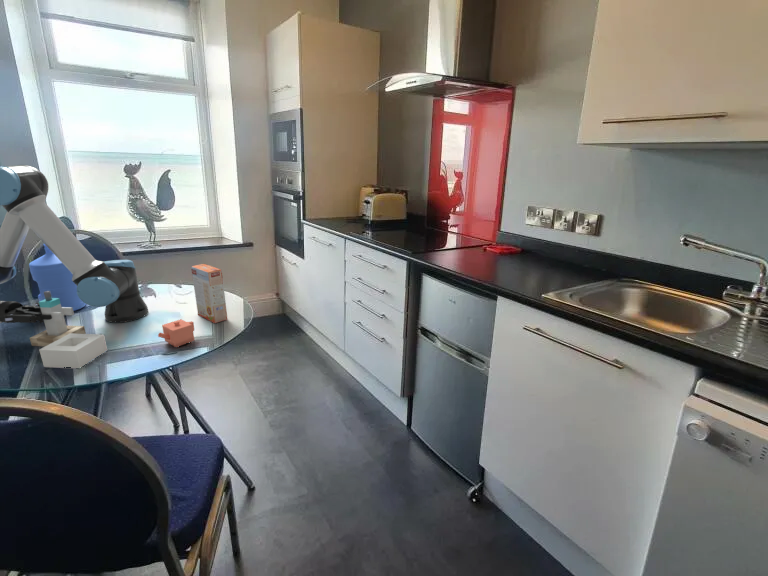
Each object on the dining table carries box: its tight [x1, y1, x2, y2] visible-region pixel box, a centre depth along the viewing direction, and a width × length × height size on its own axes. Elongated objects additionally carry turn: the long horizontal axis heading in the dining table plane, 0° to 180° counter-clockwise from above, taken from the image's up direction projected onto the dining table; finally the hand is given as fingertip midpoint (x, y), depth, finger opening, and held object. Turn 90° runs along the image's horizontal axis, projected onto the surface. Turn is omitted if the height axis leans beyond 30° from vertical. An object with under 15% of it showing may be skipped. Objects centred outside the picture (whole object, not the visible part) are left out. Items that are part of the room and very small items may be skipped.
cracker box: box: [190, 263, 228, 324], centre depth 166 cm, size 14×6×21 cm, turn 48°
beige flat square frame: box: [29, 324, 87, 347], centre depth 149 cm, size 11×11×3 cm
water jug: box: [28, 243, 87, 312], centre depth 174 cm, size 16×16×28 cm
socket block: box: [38, 333, 108, 369], centre depth 135 cm, size 12×12×6 cm
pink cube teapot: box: [157, 318, 196, 348], centre depth 145 cm, size 8×12×8 cm, turn 141°
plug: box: [38, 291, 68, 336], centre depth 147 cm, size 4×4×18 cm
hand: (67, 313), depth 146 cm, fingers closed on plug, 4 cm apart
